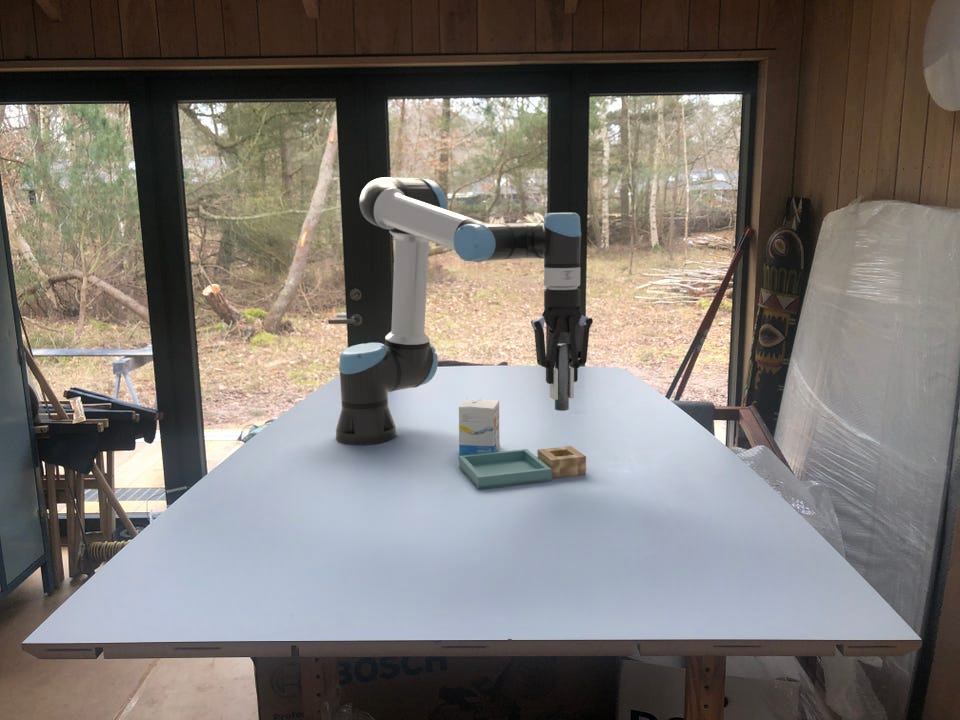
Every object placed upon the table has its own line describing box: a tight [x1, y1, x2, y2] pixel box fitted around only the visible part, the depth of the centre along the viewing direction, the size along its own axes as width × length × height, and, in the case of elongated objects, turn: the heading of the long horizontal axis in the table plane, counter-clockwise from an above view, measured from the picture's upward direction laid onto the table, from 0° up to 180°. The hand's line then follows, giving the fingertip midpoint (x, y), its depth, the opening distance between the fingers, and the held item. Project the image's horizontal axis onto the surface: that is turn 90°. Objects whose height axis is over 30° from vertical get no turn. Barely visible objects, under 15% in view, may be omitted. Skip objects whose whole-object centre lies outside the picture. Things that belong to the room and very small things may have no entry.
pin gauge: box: [554, 343, 570, 412], centre depth 162 cm, size 3×3×14 cm
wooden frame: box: [537, 445, 587, 479], centre depth 165 cm, size 8×8×4 cm
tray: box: [458, 448, 553, 490], centre depth 164 cm, size 16×15×3 cm
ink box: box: [458, 398, 501, 456], centre depth 180 cm, size 9×8×12 cm
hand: (561, 397), depth 162 cm, fingers closed on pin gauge, 3 cm apart
